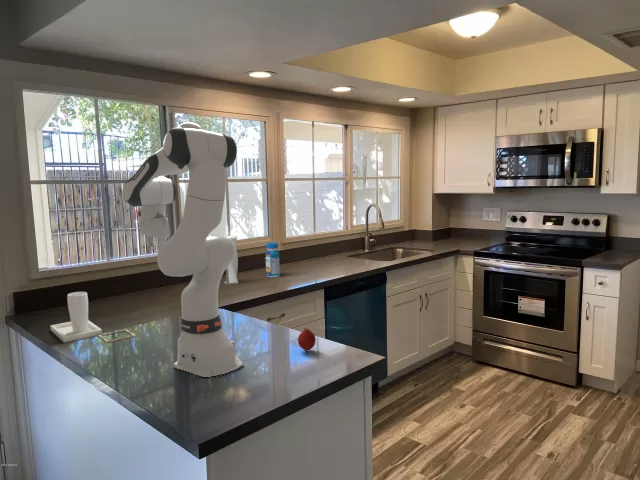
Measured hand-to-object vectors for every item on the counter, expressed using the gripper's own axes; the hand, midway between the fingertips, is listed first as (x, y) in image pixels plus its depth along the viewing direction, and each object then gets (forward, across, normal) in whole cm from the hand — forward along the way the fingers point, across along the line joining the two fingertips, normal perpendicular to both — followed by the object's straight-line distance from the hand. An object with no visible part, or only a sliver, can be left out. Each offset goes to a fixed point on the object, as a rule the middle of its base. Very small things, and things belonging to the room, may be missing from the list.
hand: (155, 248), depth 183 cm
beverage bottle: (+31, +50, -90) cm, 108 cm away
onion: (+31, -62, -24) cm, 73 cm away
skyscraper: (+31, +52, -63) cm, 88 cm away
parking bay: (+31, -1, +17) cm, 35 cm away
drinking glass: (+30, +11, +26) cm, 42 cm away
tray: (+31, +15, +27) cm, 44 cm away
